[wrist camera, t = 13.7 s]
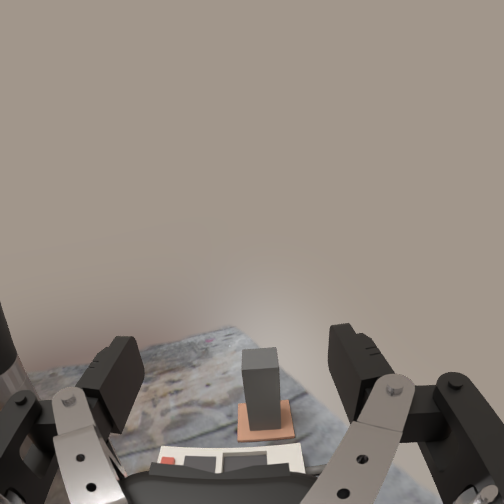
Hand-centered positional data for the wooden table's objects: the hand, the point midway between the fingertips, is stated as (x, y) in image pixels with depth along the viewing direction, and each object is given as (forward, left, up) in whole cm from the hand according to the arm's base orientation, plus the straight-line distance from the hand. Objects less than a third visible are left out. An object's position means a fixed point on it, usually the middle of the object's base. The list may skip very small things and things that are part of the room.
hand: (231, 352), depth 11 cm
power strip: (-8, +6, -28) cm, 30 cm away
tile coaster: (-13, +16, -28) cm, 35 cm away
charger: (-13, +16, -27) cm, 35 cm away
